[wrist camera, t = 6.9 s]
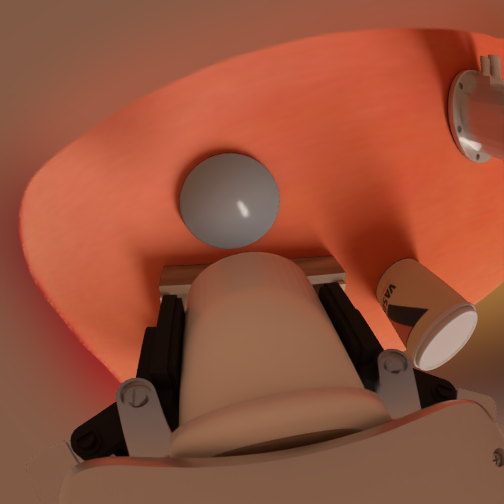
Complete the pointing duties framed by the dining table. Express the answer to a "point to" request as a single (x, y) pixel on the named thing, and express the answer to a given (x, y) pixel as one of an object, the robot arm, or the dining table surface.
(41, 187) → the dining table surface
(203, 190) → the slate saucer
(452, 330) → the coffee cup
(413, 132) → the dining table surface
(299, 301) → the cream pot
